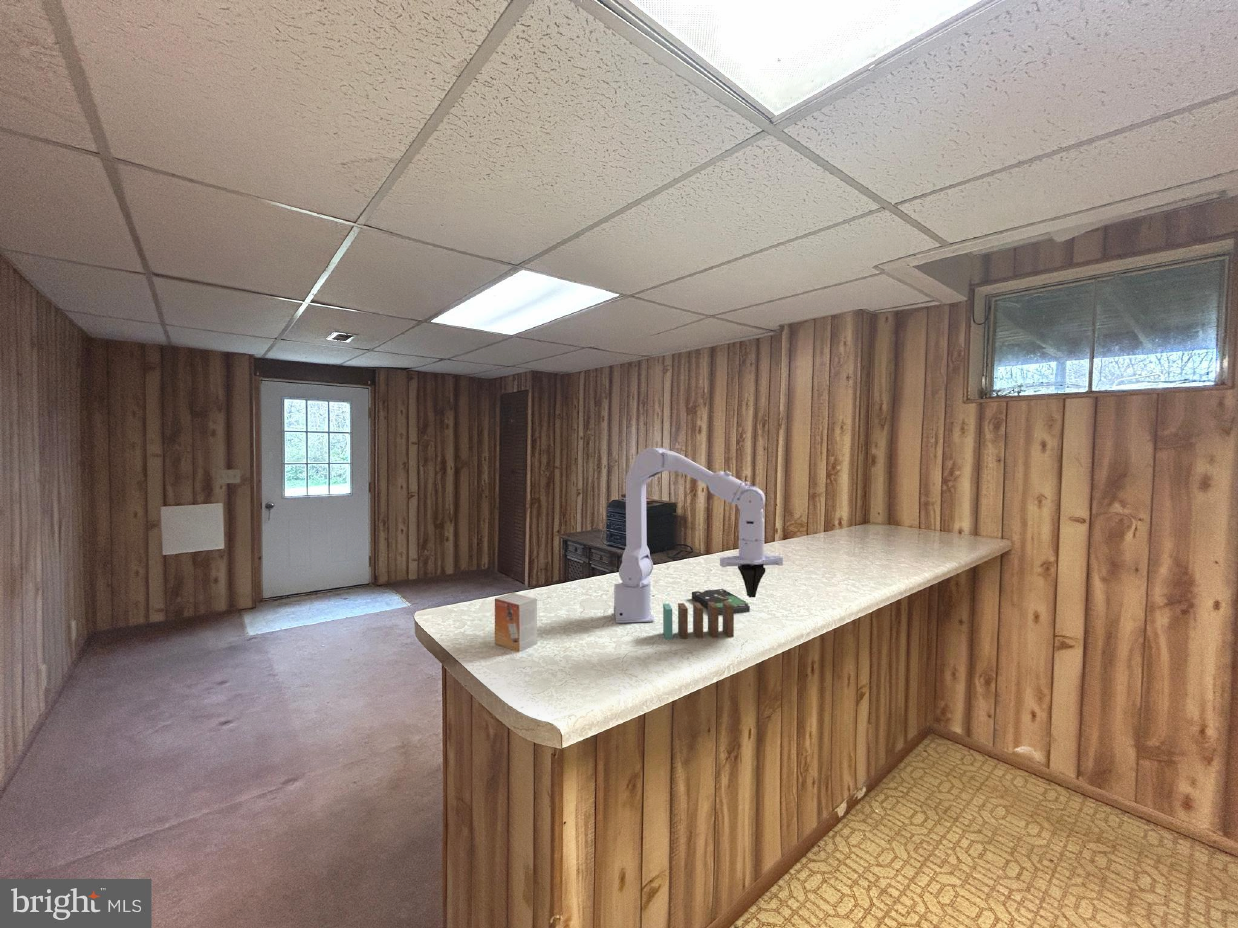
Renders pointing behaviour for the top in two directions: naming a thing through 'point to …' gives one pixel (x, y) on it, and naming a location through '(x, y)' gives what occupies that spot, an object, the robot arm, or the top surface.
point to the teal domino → (667, 621)
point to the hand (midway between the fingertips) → (751, 596)
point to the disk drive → (720, 600)
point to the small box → (515, 621)
